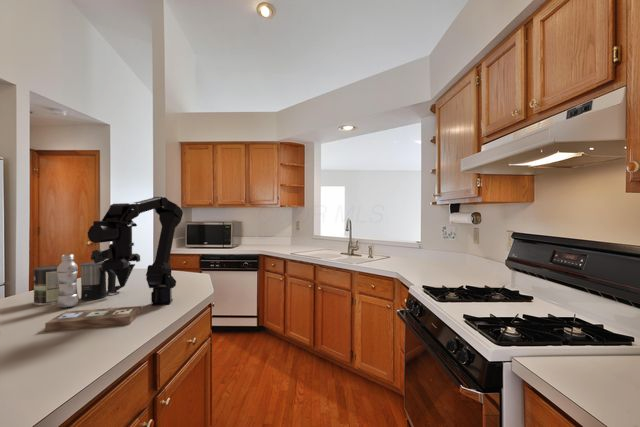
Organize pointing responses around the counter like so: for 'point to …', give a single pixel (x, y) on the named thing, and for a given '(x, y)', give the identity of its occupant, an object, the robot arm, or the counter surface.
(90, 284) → the milk frother
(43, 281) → the coffee can
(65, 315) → the tile
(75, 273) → the plastic bottle
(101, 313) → the tile
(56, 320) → the board
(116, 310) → the tile
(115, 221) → the robot arm
